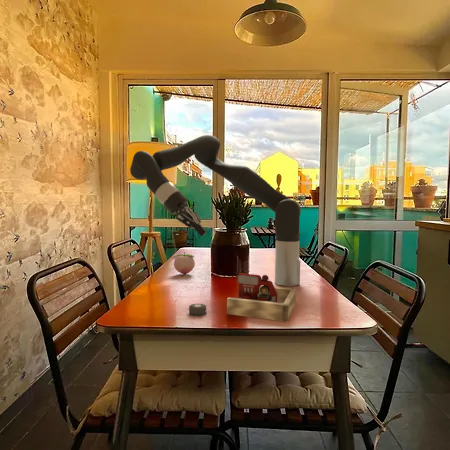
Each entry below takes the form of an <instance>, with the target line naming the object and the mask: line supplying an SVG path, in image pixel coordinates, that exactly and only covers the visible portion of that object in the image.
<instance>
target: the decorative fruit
mask: <svg viewBox="0 0 450 450" xmlns="http://www.w3.org/2000/svg"><path fill="white" fill-rule="evenodd" d="M185 253H186V252H183V254H182V253H180V254H176V255H174V257H173V258H175V259H174V260H173V268H174V269H175V270H176V271H177V272H178V273H180V274H181V275H188V274H189V273H190V272H192V271H193V269H194V268H195V266H196V265H195V264H196V262H195V258H196V257H195V255H193V254H191V253H188V254H185Z"/></svg>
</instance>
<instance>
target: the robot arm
mask: <svg viewBox="0 0 450 450" xmlns="http://www.w3.org/2000/svg"><path fill="white" fill-rule="evenodd" d="M220 148H221V141H220V140H219V139H218V137H216V136H215V135H211V134H203V135H201V136H198V137H195V138H194V139H192V140H189V141H187V142H186V143H183V144H180V145H178V146H175V147H172V148H168V149H167V148H166V149H162V150H158V151H156V152H154V153H153V155H151V154H150V153H149V152H148V151H145V150H139V151H136V152H135V154H134V155H133V157H132V162H131V165H130V169H129V173H130V175H131V177H133V178H134V179H136V180H146V186H147V188H148V189H149V190H150V191H151V193H152V194H154V196H155V198H157V200H158V201H159V203H160V204H161V205H163V207H164V208H165V209H166V210H167V211H168V212H169V213H170V215H173V216H174V215H177V216H176V219H177V221H178V222H180V223H181V224H183V225H185V226H187V228H189V229H191V228H192V229H193V230H195V231H196V233H197V234H198V235H199V236H201V237H204V236H205V235H206V234H207V230H206V229H205V228H204V226H203V225H202V224H201V223H202V221H201V219H200V218H201V217H200V216H199V214H198V213H197V211H194V212H193V210H192V209H191V208H190V207H188V206H187V205H188V199H187V198H186V197H185V195H184V194H183V193H182V192H181V191H180V190H179V189H178V188H177V187H176V186H175V185H174V184H173V183H172V182H171V181H170V180H169V179H168V178H167V177H166V176H165V175H164V173H163V171H164V170H168V169H172V168H175V167H177V166H180V165H182V164H183V163H184V162H186V161H187V160H188V159H189V158H192V156H194V158H195V160H196V161H198V163H200V164H201V165H203V166H204V167H206V168H208V169H209V170H211V171H212V172H214V173H216V174H218V175H219V176H221V177H222V178H223V179H225V180H226V181H228V183H230V184H232V185H233V186H234V187H236V189H238V190H239V191H241V192H242V193H244V194H245V195H247V196H248V197H250V198H252V199H254V200H256V201H258V202H260V203H262V204H263V205H265V206H266V207H268V208H269V209H270V210H271V211H272V212H274V218H275V219H274V233H275V252H274V253H275V254H274V255H275V260H274V263H275V264H274V265H275V266H274V284H275V285H277V286H283V287H284V286H285V287H294V286H300V285H301V284H300V283H301V260H300V238H301V237H300V234H301V233H300V225H301V224H300V221H301V220H300V218H301V217H300V216H301V214H302V213H301V211H302V210H301V206H300V204H299V203H298V202H297V201H296V200H294V199H291V198H290V197H287V196H286V195H285V194H283V193H281V192H279V191H278V190H276V188H274V187H273V186H272V185H271V184H270V183H268V181H266V179H264V178H263V177H261V175H259V174H258V173H257V172H255V171H254V170H252V169H251V168H250V167H249V166H246V165H241V164H229V163H226V162H224V161H222V160H221V159H219V158H218V157H217V156H218V154H219V151H220Z"/></svg>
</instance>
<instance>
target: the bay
mask: <svg viewBox="0 0 450 450" xmlns="http://www.w3.org/2000/svg"><path fill="white" fill-rule="evenodd" d="M261 286H262V285H261ZM261 286H260V287H259V294H261V293H260V288H261ZM274 287H275V290H276V292H277V303H276V302H267V301H258V300H249V299H239V298H238V297H227V299H226V315H232V316H239V317H241V316H242V317H249V318H257V319H262V320H263V319H264V320H270V319H271V320H272V321H278V320H282V321H281V322H286V321H288V322H289V320H290V318H291V316H290V315H292V313H293V311H294V309H295V307H296V303H297V288H289V287H280V286H278V287H276V286H274ZM259 294H258V298H259ZM269 295H270V291H269ZM293 308H294V309H293ZM289 317H290V318H289ZM288 319H289V320H288Z"/></svg>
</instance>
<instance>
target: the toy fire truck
mask: <svg viewBox="0 0 450 450" xmlns="http://www.w3.org/2000/svg"><path fill="white" fill-rule="evenodd" d="M269 278H270V277H269V276H268V275H267V274H263V275H262V276H261V275H259V274H252V273H243V272H241V273H239V274H238V275H237V278H236V280H237V283H238V295H237V296H238V297H237V298H239V299H249V300H258V301H267V302H276V303H278V302H277V292H276V290H275V287H276V286H274V283H273V282H272V281H271V280H270V279H269ZM260 286H261V288H260V293H261V294H259V287H260ZM269 291H270V295H269ZM258 294H259V298H258Z"/></svg>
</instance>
